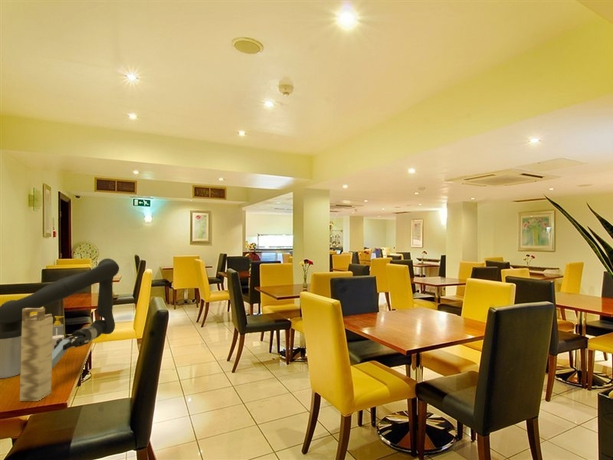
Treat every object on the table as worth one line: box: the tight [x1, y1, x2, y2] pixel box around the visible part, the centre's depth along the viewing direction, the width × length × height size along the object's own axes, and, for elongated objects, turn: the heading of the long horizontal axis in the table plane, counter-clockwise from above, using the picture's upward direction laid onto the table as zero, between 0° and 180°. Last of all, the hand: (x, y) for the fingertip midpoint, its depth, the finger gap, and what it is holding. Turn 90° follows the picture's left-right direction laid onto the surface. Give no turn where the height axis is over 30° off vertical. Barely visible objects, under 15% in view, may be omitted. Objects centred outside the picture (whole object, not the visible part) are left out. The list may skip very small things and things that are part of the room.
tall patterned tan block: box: [19, 307, 54, 402], centre depth 132 cm, size 7×6×35 cm
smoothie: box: [52, 328, 65, 352], centre depth 180 cm, size 6×6×14 cm
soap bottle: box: [52, 315, 65, 340], centre depth 191 cm, size 7×7×18 cm
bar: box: [52, 340, 71, 369], centre depth 143 cm, size 3×14×3 cm, turn 2°
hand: (59, 347), depth 144 cm, fingers closed on bar, 3 cm apart
